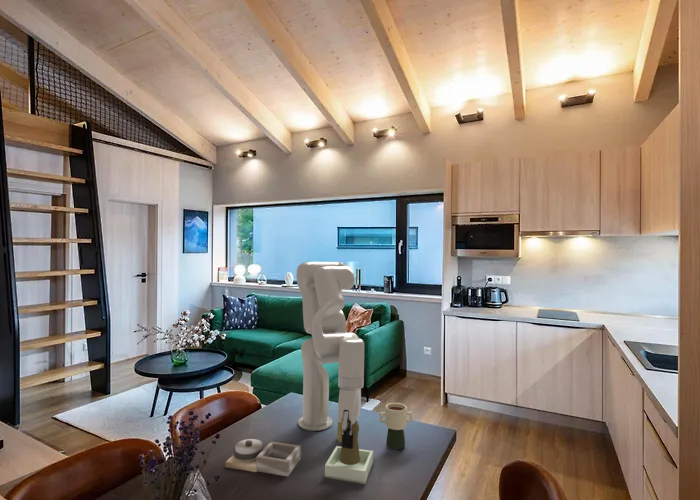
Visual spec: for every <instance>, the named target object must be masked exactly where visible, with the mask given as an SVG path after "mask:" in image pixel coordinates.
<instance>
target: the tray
mask: <svg viewBox="0 0 700 500" xmlns="http://www.w3.org/2000/svg"><path fill="white" fill-rule="evenodd" d="M340 453H341V446H339V445H336V446H335V448H334V449H333V451H332V453H331V454H330V456H329V457H328V460H327V461H326V463H325V465H324V478H325V479H331V480H338V481H342V482H343V481H344V482H351V483H354V484H355V483H356V484H361V485H362V484H363V485H366V484H367V480H368V477H369V475H370V472H371V470H372V467H373V464H374V450H370V449H369V450H367V449H362V448H361V449H360V448H359V455H360V461H359V463H357V464H354V465H346V464H343V463H341V462H340Z"/></svg>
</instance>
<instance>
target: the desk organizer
mask: <svg viewBox="0 0 700 500" xmlns="http://www.w3.org/2000/svg"><path fill="white" fill-rule="evenodd" d="M301 460H302V445H299V444H292V443H291V444H290V443H284V442H277V441H270V442H269V443H268V444H267V445H266V446H265V447H264V444H263V442H262V441H261V440H260V439H256V438H248V439H243V440H240V441H238V442H237V443H236V444H235V446H234V447H233V454H232V455H231V457H229V458H228V459H227V460H226V461H225V468H229V469H233V470H239V471H240V470H241V471H246V472H252V473H257V472H259V473H264V474H265V473H266V474H269V475H270V474H272V475H278V476H282V477H289V475H290V474H291V473H292V471H294V469H295V468H296V466H297V465H298V463H299V462H300V461H301Z"/></svg>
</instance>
